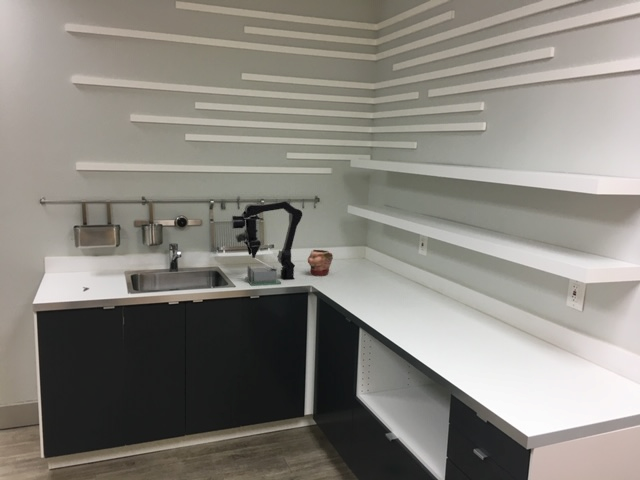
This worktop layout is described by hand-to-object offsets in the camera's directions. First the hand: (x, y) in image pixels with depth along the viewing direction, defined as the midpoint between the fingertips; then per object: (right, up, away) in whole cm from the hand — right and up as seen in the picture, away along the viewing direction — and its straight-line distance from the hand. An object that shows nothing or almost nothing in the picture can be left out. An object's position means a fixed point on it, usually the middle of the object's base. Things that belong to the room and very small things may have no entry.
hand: (251, 256), depth 281 cm
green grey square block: (+6, -14, 0) cm, 15 cm away
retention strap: (+7, -4, -1) cm, 8 cm away
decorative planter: (+38, -11, +22) cm, 45 cm away
